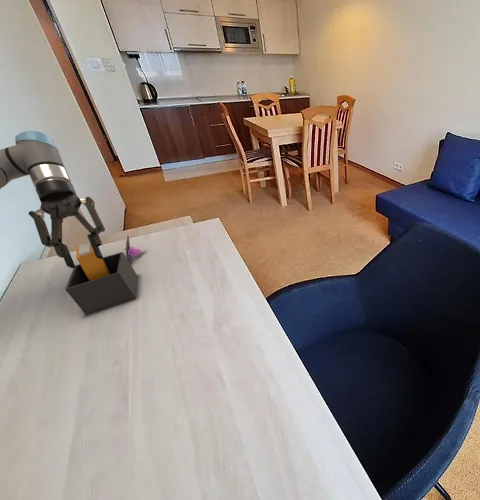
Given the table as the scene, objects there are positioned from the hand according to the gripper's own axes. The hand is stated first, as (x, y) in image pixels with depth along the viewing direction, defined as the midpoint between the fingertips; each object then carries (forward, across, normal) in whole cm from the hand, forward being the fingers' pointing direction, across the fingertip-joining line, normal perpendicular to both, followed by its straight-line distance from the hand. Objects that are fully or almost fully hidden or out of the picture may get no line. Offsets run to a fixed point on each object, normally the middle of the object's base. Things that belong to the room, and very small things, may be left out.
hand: (85, 261), depth 80 cm
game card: (-6, -7, -27) cm, 28 cm away
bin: (+8, 0, -13) cm, 15 cm away
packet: (+5, 0, -10) cm, 11 cm away
